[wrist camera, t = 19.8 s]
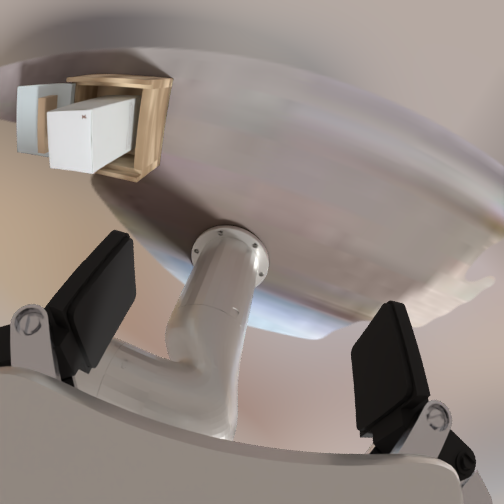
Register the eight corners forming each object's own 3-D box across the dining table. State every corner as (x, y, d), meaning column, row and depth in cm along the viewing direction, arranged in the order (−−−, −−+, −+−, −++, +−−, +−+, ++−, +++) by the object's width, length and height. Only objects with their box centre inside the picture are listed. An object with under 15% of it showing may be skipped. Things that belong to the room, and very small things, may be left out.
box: (173, 78, 32) (148, 80, 26) (159, 165, 39) (136, 182, 33) (97, 73, 32) (66, 77, 26) (90, 151, 39) (63, 166, 33)
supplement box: (105, 94, 33) (45, 109, 22) (148, 95, 33) (92, 107, 22) (103, 140, 37) (48, 169, 26) (144, 145, 37) (93, 175, 26)
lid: (75, 83, 27) (59, 86, 24) (71, 159, 33) (57, 166, 31) (21, 85, 27) (6, 89, 24) (20, 150, 33) (7, 157, 30)
